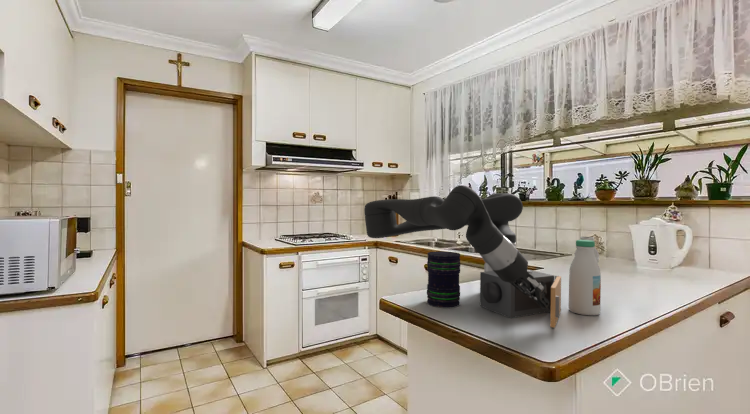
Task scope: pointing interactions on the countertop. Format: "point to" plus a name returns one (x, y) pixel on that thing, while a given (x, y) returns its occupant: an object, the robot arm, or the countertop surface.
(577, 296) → the milk bottle
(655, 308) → the countertop surface
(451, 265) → the storage jar
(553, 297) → the side door
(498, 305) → the camera body
